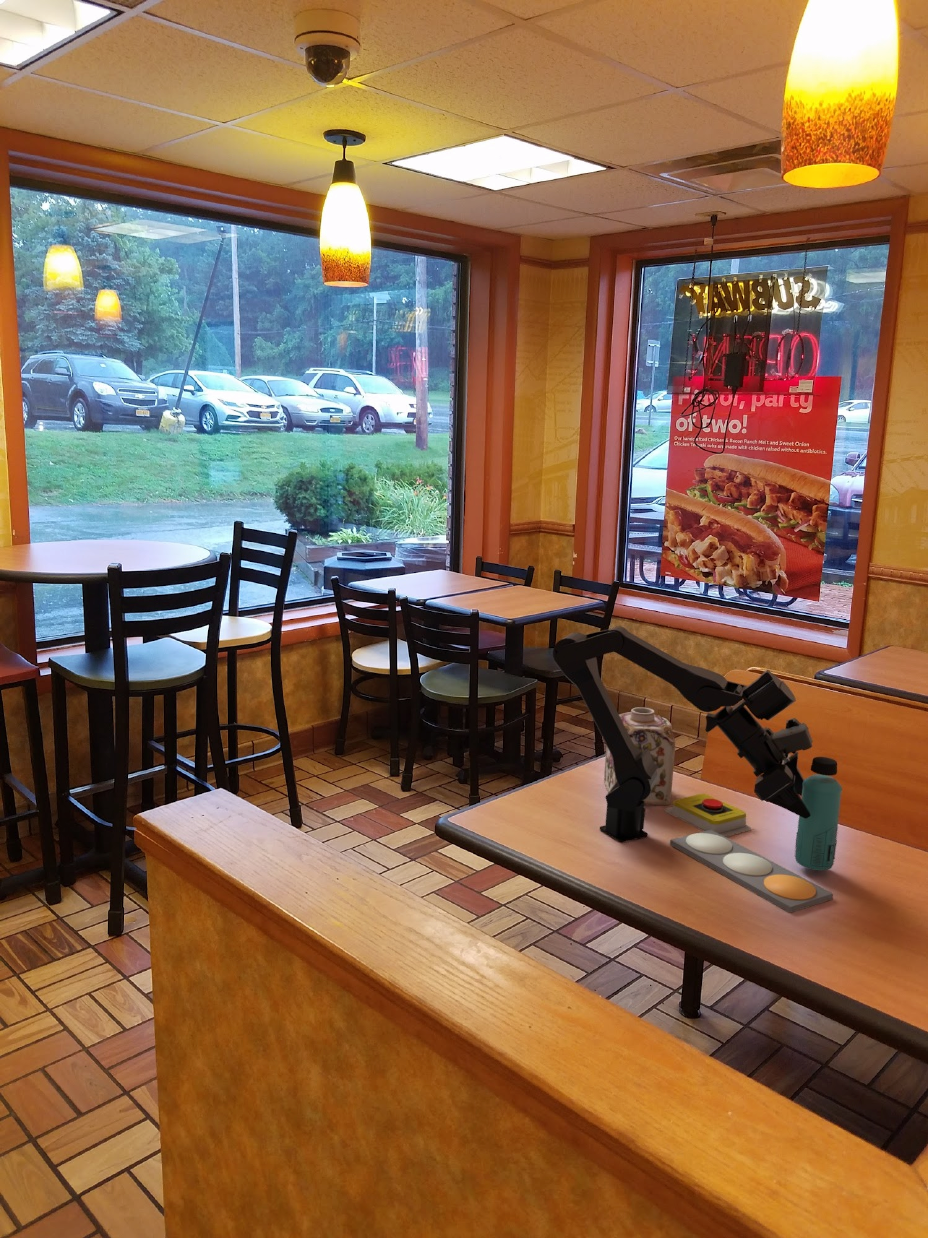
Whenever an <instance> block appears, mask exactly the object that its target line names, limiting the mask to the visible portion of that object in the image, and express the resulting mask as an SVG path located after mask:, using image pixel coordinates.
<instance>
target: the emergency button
mask: <svg viewBox="0 0 928 1238" xmlns="http://www.w3.org/2000/svg"><path fill="white" fill-rule="evenodd" d="M663 811H664V812H666V813H668V815H671V816H673V817H675V818H677V819H679V820H681V821H683V822H685V823H686V824H689V825H690V826H693V827H695V828H697V829H699V830H701V831H702V832H704V831H708V830H713V831H715V832H717V833H718V834H720V835H722V836H724V837H726V838H728V837H732V836H734V834H735V835H739V834H741V832H742V833H746V832H749V831H751V829H752V827H751V826H749V825H747V812H746V811H744V810H742V809H741V808H737V807H735V806H734V805H731V804H729V803H727V802H725V801H722V800H721V799H718V798H715V797H714V796H711V795H709V794H707V793H700V794H699V793H698V794H695V795H690V796H686V797H682V798H677V799H675V800H673V803H672V806H669V807H665V808H664V809H663ZM745 831H746V832H745ZM731 835H732V836H731Z"/></svg>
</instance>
